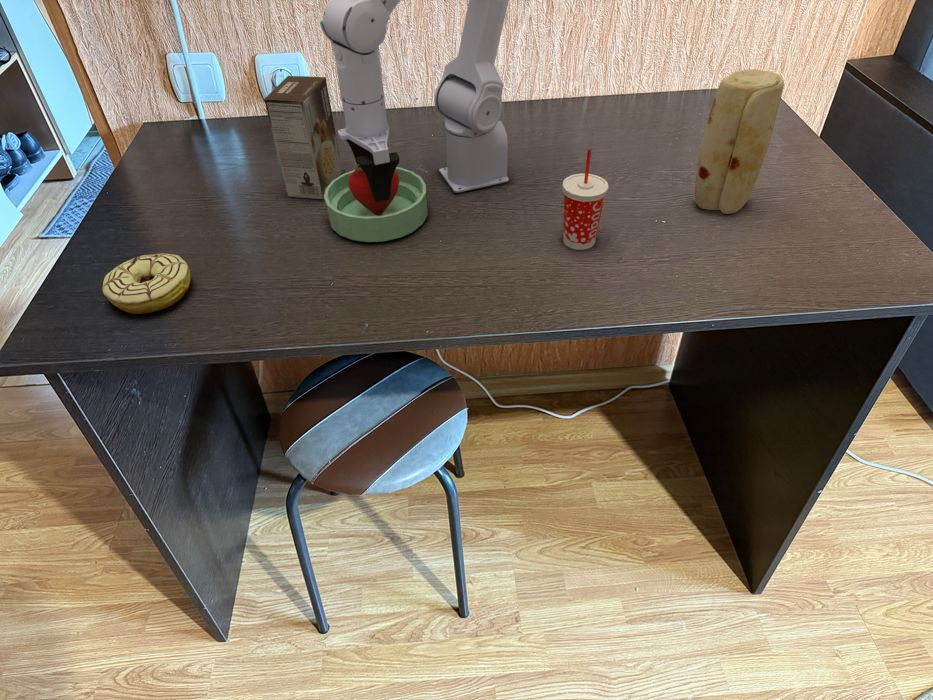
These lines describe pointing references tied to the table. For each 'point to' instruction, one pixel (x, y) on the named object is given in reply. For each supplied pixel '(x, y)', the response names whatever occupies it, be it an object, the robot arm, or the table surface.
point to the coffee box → (304, 135)
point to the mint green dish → (365, 225)
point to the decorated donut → (147, 283)
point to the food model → (737, 139)
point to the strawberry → (364, 194)
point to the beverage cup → (582, 207)
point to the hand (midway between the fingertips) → (375, 187)
